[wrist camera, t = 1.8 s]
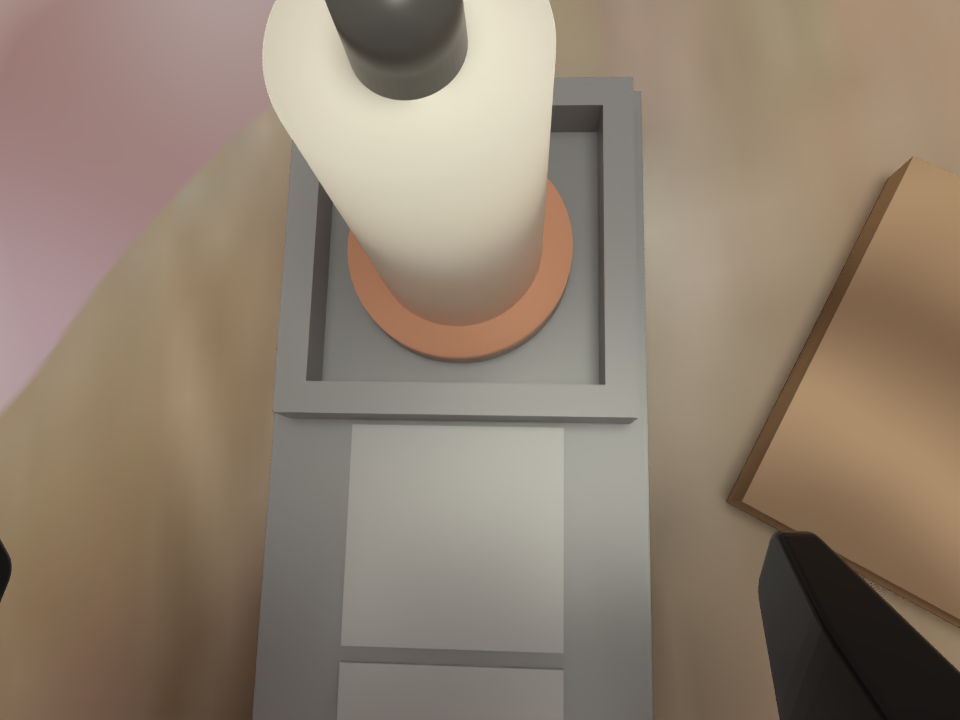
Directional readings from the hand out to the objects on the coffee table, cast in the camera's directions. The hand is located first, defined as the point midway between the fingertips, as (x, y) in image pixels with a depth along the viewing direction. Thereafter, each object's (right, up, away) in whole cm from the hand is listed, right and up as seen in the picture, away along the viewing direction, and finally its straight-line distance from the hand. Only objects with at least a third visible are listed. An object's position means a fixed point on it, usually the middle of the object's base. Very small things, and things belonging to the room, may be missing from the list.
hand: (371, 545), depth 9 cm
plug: (+1, +5, +12) cm, 13 cm away
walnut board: (+16, 0, +13) cm, 20 cm away
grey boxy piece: (+1, -2, +13) cm, 13 cm away
